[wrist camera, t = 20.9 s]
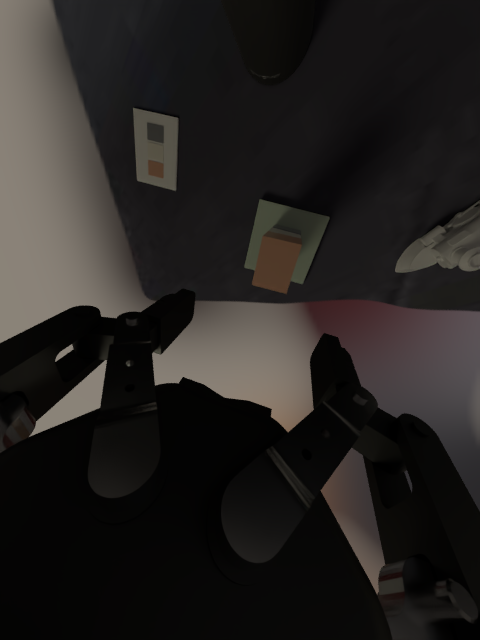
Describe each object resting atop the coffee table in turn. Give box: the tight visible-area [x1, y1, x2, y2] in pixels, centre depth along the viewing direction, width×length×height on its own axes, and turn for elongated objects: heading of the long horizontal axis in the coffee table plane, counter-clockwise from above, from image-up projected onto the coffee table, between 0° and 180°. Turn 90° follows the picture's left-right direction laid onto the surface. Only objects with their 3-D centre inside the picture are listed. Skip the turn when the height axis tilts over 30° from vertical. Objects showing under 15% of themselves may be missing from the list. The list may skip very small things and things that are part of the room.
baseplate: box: [245, 199, 330, 284], centre depth 35 cm, size 12×12×6 cm
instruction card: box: [133, 108, 179, 191], centre depth 35 cm, size 10×8×1 cm
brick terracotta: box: [252, 231, 302, 294], centre depth 26 cm, size 6×4×5 cm
